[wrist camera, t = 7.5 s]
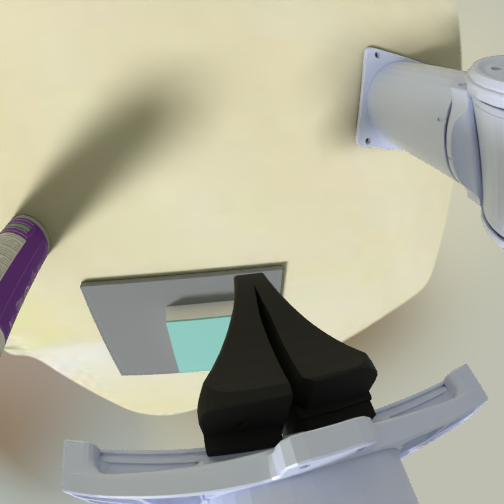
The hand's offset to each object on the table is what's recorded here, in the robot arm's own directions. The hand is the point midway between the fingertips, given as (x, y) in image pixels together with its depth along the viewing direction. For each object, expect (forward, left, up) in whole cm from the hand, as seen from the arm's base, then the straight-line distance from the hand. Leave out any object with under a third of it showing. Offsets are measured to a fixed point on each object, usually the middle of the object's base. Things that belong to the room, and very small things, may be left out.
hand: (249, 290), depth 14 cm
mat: (+4, +14, -10) cm, 17 cm away
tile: (-1, +14, -8) cm, 16 cm away
